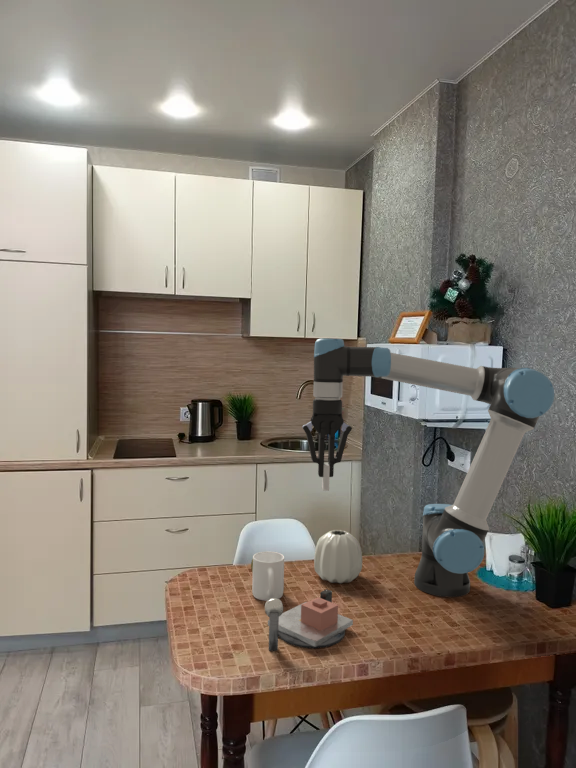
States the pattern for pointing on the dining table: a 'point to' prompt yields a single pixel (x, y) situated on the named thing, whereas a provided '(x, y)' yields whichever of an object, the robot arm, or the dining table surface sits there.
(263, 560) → the mug
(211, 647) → the dining table surface
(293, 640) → the turntable base
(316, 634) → the turntable
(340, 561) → the vase
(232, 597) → the dining table surface
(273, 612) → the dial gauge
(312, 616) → the cover
